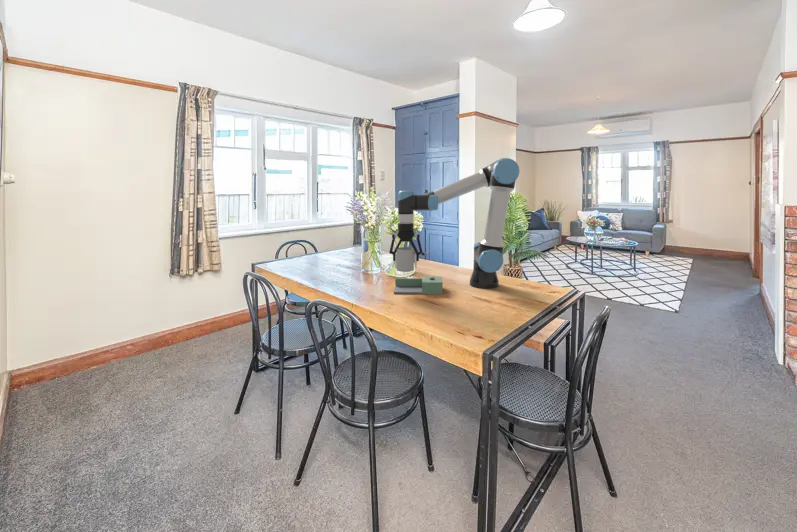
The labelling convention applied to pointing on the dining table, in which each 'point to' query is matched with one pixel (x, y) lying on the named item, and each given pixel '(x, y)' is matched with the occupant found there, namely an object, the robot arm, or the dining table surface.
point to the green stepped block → (419, 285)
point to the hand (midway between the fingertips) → (406, 267)
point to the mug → (405, 259)
